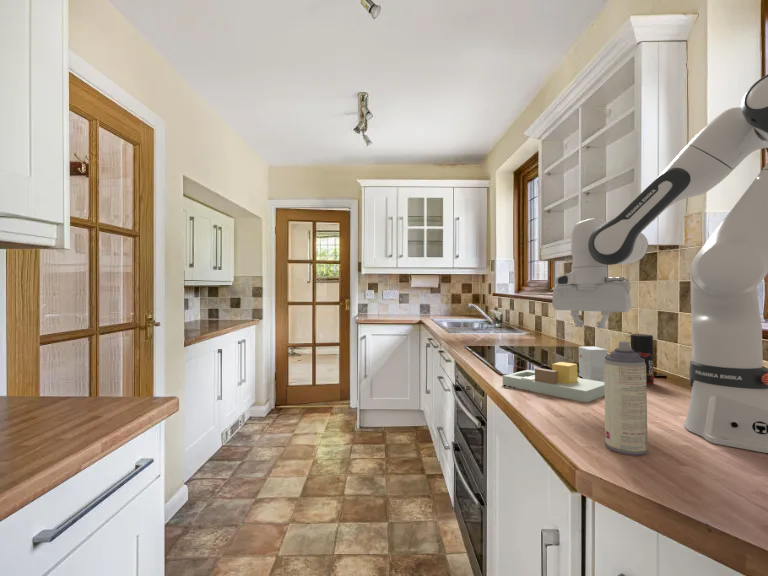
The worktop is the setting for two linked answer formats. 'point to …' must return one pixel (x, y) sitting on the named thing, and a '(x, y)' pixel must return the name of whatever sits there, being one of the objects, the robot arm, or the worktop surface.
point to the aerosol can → (625, 401)
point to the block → (566, 372)
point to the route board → (555, 385)
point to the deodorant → (644, 353)
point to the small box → (592, 363)
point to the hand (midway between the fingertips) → (590, 327)
